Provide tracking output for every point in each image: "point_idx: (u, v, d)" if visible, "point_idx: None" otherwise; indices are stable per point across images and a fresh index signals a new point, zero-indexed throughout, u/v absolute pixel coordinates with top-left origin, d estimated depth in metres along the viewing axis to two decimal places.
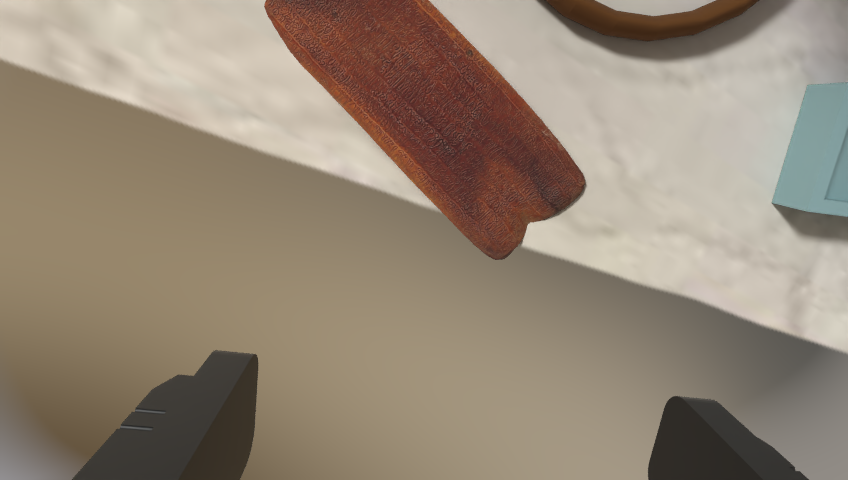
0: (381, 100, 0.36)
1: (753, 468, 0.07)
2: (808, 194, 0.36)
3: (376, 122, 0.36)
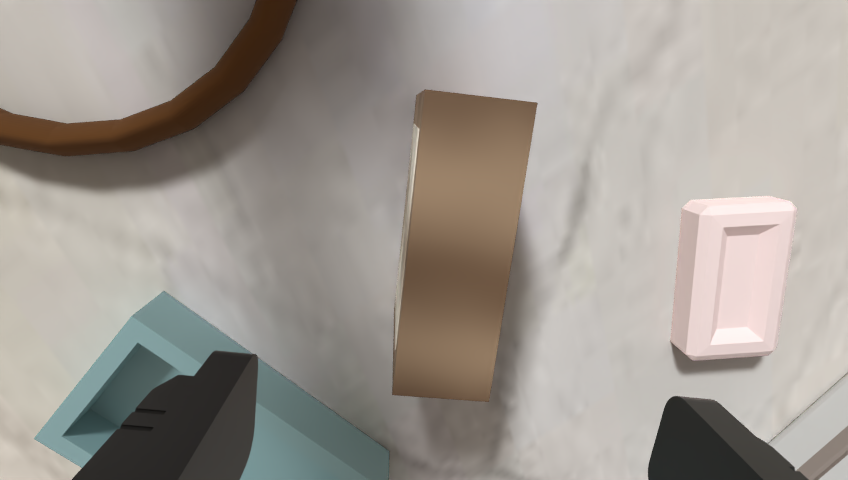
0: None
1: (753, 468, 0.07)
2: (50, 419, 0.26)
3: None
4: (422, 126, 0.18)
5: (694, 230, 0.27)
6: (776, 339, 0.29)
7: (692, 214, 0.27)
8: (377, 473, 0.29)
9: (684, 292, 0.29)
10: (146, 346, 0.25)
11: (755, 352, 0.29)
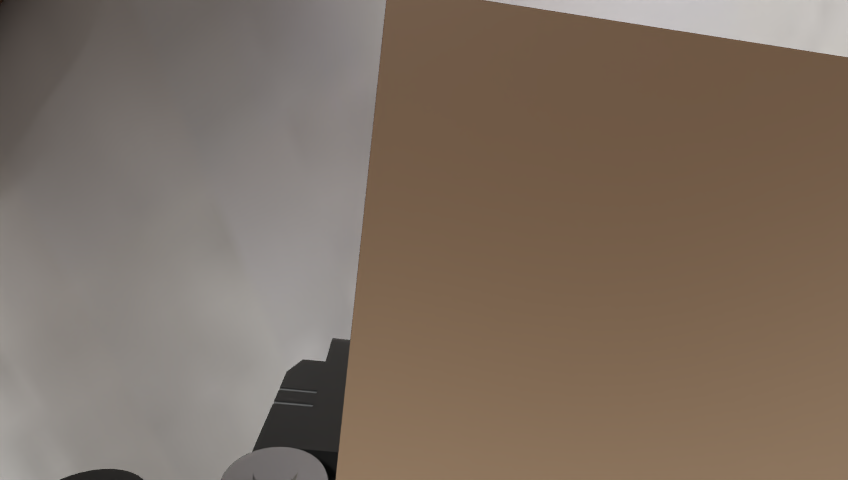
0: None
1: None
2: None
3: None
4: (366, 282, 0.02)
5: None
6: None
7: None
8: None
9: None
10: None
11: None
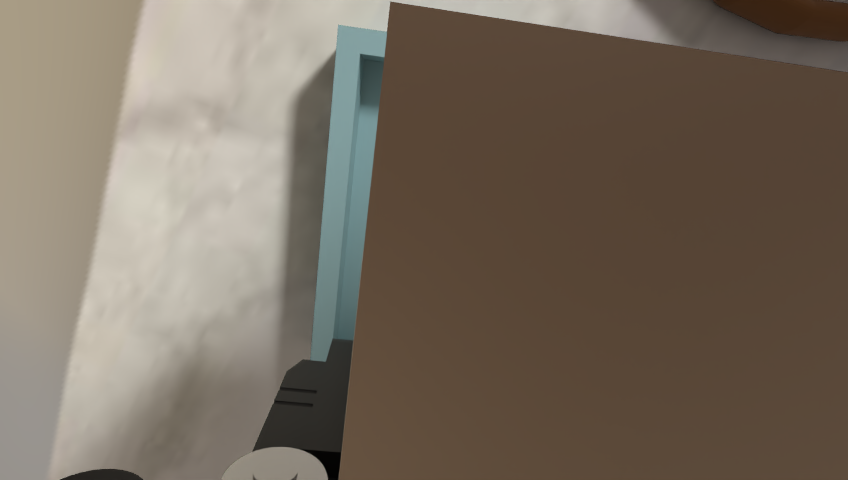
0: None
1: None
2: (367, 30, 0.21)
3: None
4: (368, 295, 0.02)
5: None
6: None
7: None
8: None
9: None
10: None
11: None
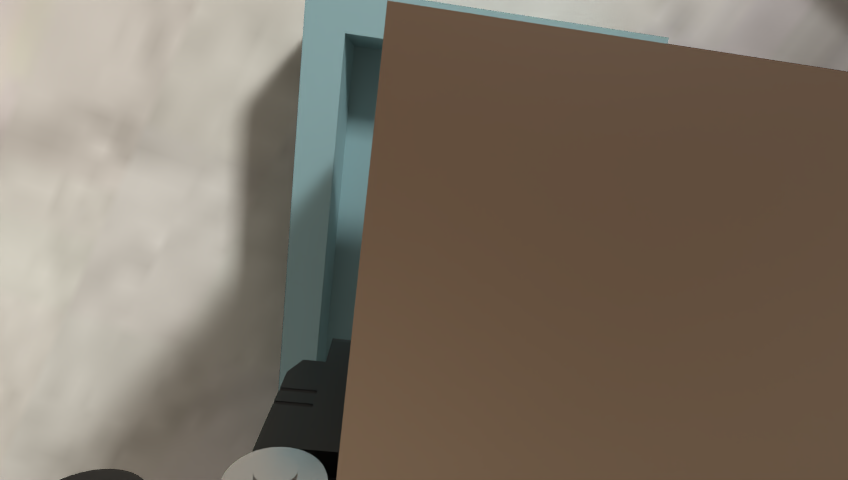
0: None
1: None
2: None
3: None
4: (365, 295, 0.02)
5: None
6: None
7: None
8: None
9: None
10: None
11: None
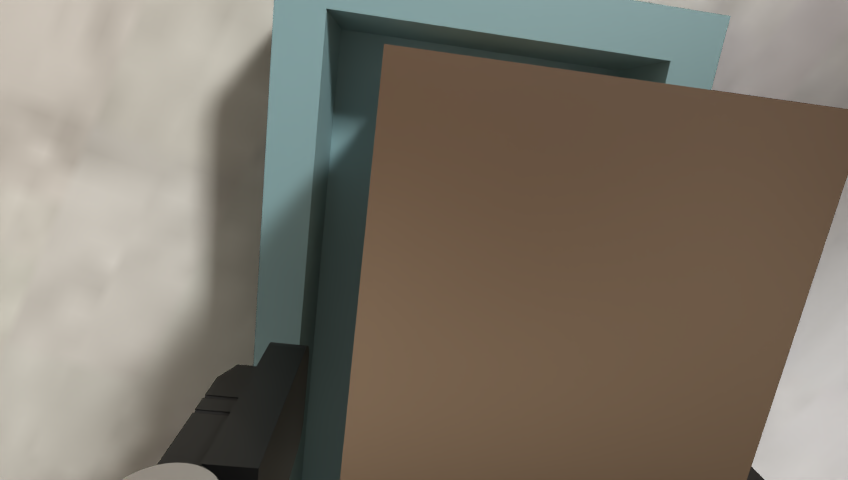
0: None
1: None
2: None
3: None
4: (373, 206, 0.04)
5: None
6: None
7: None
8: None
9: None
10: None
11: None
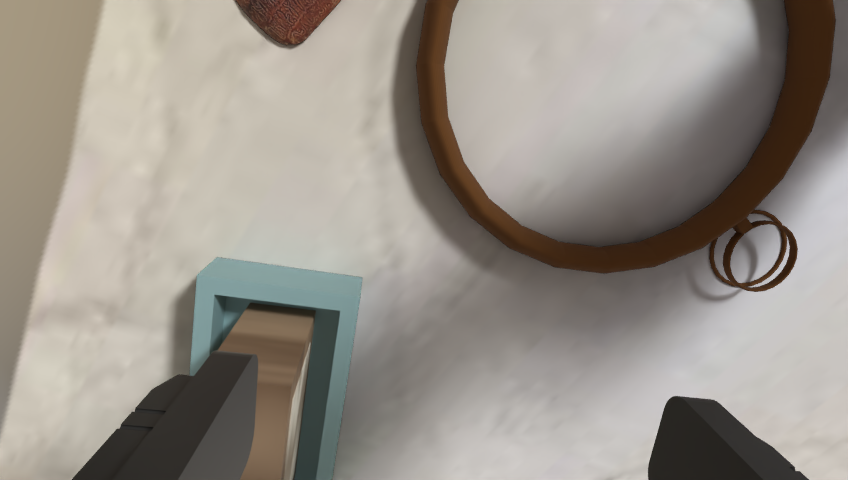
0: None
1: (753, 468, 0.07)
2: (221, 276, 0.28)
3: None
4: None
5: None
6: None
7: None
8: None
9: None
10: (339, 316, 0.29)
11: None
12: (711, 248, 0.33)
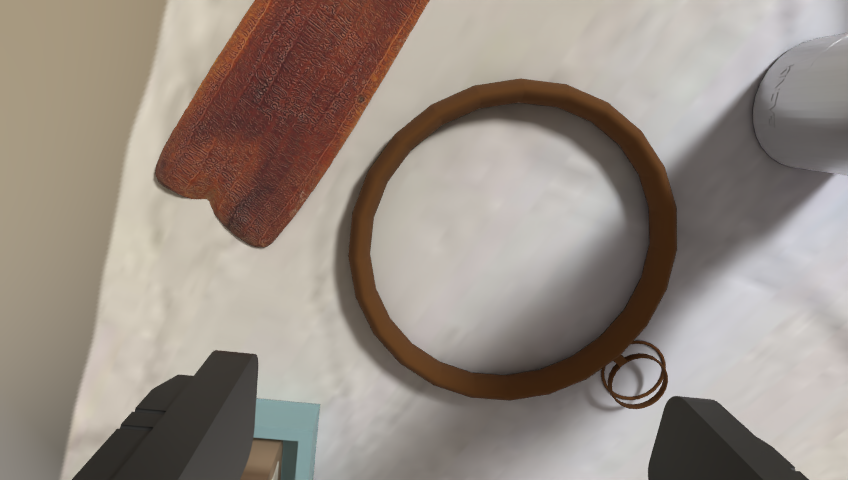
0: (291, 10, 0.33)
1: (753, 468, 0.07)
2: None
3: (267, 8, 0.33)
4: None
5: None
6: None
7: None
8: None
9: None
10: (298, 444, 0.38)
11: None
12: (602, 371, 0.41)
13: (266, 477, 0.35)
